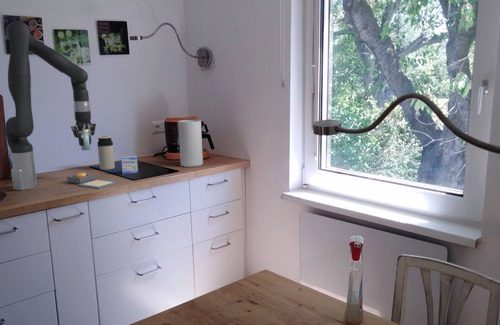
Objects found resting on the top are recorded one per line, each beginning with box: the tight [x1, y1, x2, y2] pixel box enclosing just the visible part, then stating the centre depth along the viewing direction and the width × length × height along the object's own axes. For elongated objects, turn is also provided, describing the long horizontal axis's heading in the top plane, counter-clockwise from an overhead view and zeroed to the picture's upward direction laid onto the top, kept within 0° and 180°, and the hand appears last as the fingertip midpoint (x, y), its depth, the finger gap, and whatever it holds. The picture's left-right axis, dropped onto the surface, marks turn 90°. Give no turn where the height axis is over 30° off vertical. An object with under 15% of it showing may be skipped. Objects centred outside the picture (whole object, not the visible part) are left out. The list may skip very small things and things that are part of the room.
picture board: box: [77, 178, 119, 190], centre depth 218 cm, size 12×14×1 cm
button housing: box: [66, 173, 96, 185], centre depth 225 cm, size 9×9×3 cm
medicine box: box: [120, 155, 139, 175], centre depth 242 cm, size 8×4×9 cm, turn 105°
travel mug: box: [97, 135, 116, 171], centre depth 253 cm, size 8×8×18 cm
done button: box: [74, 172, 87, 177], centre depth 225 cm, size 5×5×2 cm
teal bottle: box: [80, 129, 91, 151], centre depth 227 cm, size 4×4×10 cm
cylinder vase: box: [177, 119, 204, 168], centre depth 257 cm, size 12×12×25 cm
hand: (85, 145), depth 228 cm, fingers closed on teal bottle, 4 cm apart
